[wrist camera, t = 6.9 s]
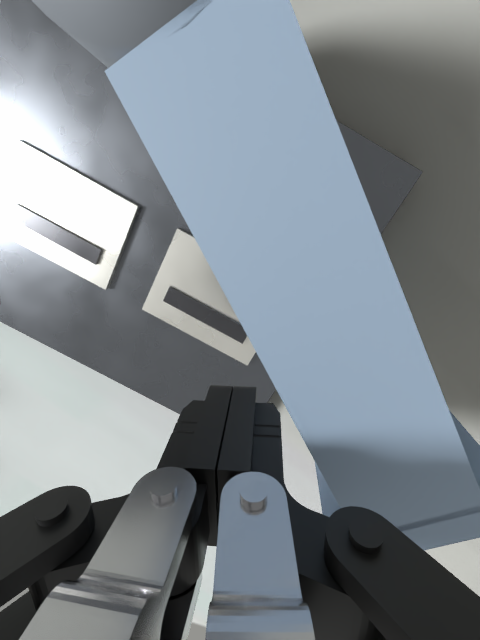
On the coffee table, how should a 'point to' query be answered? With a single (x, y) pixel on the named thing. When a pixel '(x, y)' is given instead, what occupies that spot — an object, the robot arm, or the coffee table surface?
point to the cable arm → (291, 245)
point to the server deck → (118, 228)
